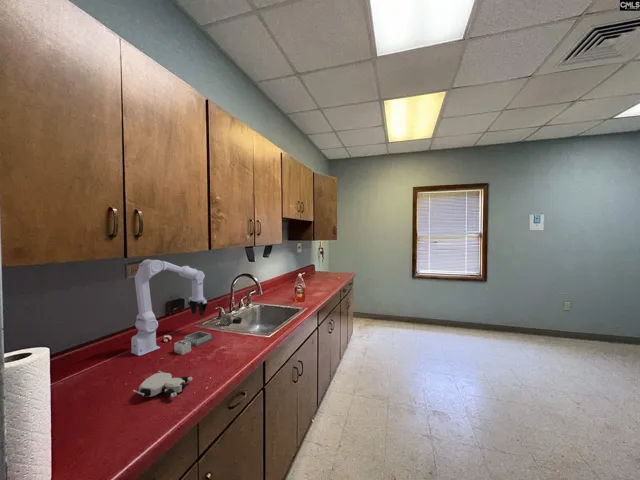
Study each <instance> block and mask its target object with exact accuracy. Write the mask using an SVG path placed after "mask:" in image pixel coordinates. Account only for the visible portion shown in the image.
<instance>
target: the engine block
mask: <svg viewBox="0 0 640 480" xmlns="http://www.w3.org/2000/svg"><path fill="white" fill-rule="evenodd" d="M173 348H174V353H176V354H178V355H181V356H183V355H185V354H188V353H190V352H192V345H191V342H190V341H186V340H184V339H180V340H178V341H176V342H174V347H173Z"/></svg>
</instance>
